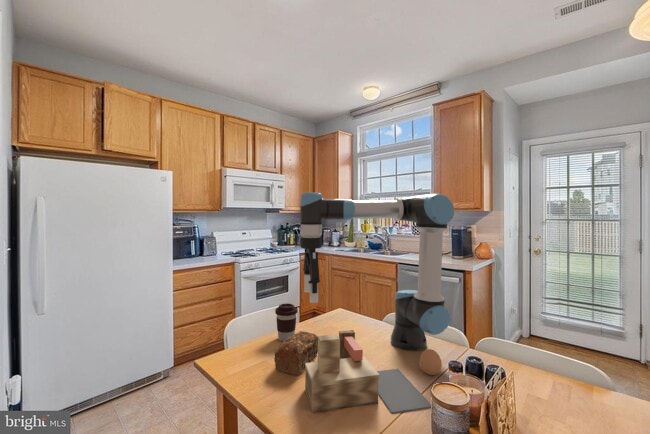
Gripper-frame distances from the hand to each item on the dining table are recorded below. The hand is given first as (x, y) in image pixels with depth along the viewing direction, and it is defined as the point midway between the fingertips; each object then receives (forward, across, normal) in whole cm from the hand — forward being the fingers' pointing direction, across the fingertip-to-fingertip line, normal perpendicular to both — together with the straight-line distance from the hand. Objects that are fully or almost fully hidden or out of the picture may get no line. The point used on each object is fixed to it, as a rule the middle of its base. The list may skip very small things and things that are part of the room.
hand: (310, 297), depth 106 cm
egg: (+28, +8, +42) cm, 51 cm away
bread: (+28, -9, -4) cm, 29 cm away
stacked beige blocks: (+19, +15, +7) cm, 26 cm away
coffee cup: (+27, -32, -6) cm, 43 cm away
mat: (+27, +14, +26) cm, 40 cm away
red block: (+18, +4, +13) cm, 23 cm away
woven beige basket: (+27, +10, +7) cm, 30 cm away
